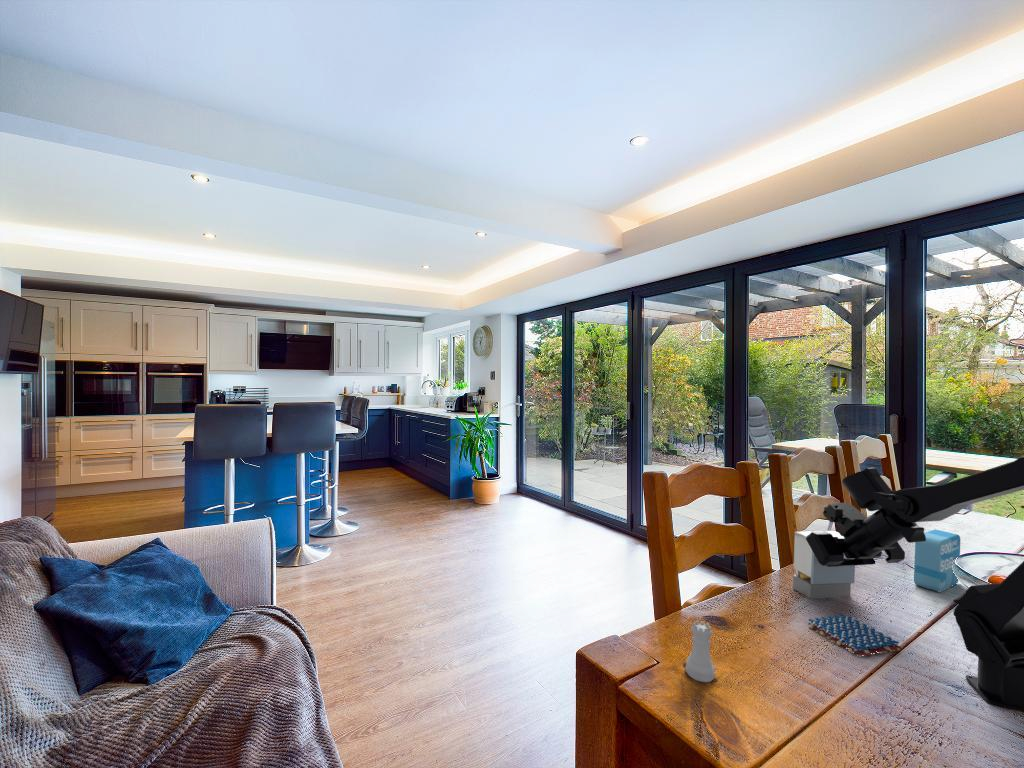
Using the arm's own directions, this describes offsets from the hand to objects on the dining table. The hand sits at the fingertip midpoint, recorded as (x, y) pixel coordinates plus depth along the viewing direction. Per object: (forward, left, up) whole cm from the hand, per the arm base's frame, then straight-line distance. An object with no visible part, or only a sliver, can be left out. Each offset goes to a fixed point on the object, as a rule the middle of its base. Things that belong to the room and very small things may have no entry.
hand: (829, 564), depth 100 cm
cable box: (+4, 0, -8) cm, 9 cm away
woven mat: (-16, 0, -9) cm, 18 cm away
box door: (+1, -1, -4) cm, 5 cm away
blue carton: (+20, -27, -8) cm, 34 cm away
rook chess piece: (-39, +26, -8) cm, 48 cm away
